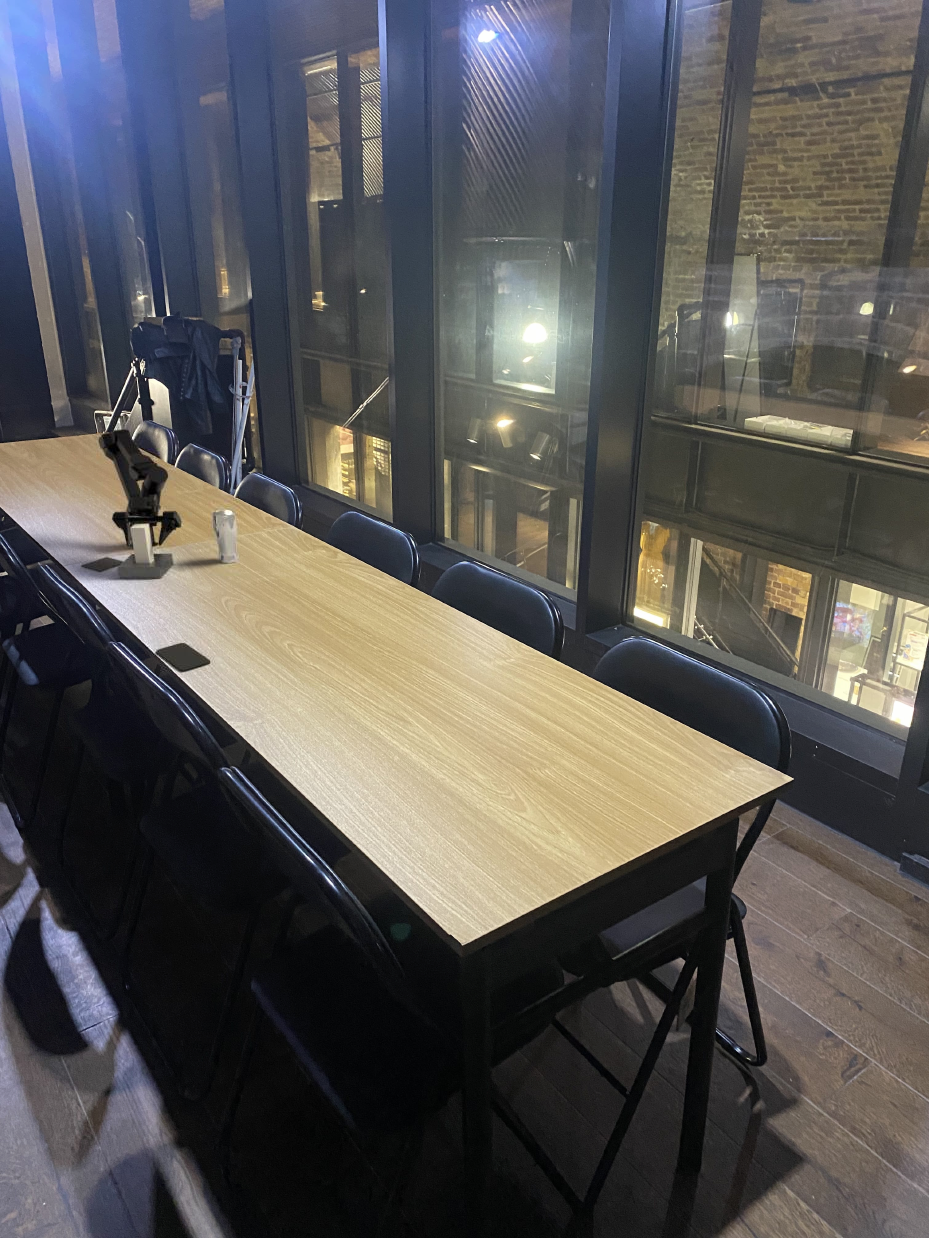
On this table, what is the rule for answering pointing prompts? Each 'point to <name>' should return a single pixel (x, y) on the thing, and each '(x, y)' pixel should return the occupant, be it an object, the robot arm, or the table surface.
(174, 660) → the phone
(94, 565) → the mat
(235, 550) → the beer glass
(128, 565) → the socket block
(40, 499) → the table surface
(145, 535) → the peg
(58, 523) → the table surface
